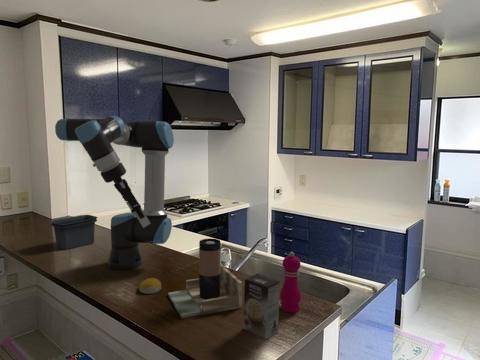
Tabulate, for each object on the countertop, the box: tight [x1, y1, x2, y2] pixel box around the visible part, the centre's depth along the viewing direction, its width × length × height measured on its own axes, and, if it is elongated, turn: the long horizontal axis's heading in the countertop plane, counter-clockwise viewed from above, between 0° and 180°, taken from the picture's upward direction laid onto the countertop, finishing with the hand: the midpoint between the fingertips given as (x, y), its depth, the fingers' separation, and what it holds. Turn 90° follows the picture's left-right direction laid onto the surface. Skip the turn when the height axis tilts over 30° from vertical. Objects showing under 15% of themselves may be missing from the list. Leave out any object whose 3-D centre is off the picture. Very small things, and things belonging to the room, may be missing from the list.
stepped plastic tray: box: [167, 263, 243, 319], centre depth 131 cm, size 20×21×9 cm
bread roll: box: [138, 277, 162, 295], centre depth 141 cm, size 8×9×4 cm
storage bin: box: [50, 214, 98, 250], centre depth 197 cm, size 21×16×14 cm
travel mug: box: [198, 238, 222, 300], centre depth 132 cm, size 8×8×20 cm
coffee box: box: [243, 273, 281, 340], centre depth 111 cm, size 9×6×16 cm
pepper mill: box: [279, 251, 302, 314], centre depth 126 cm, size 7×7×20 cm
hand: (142, 220), depth 127 cm, fingers open, 13 cm apart
